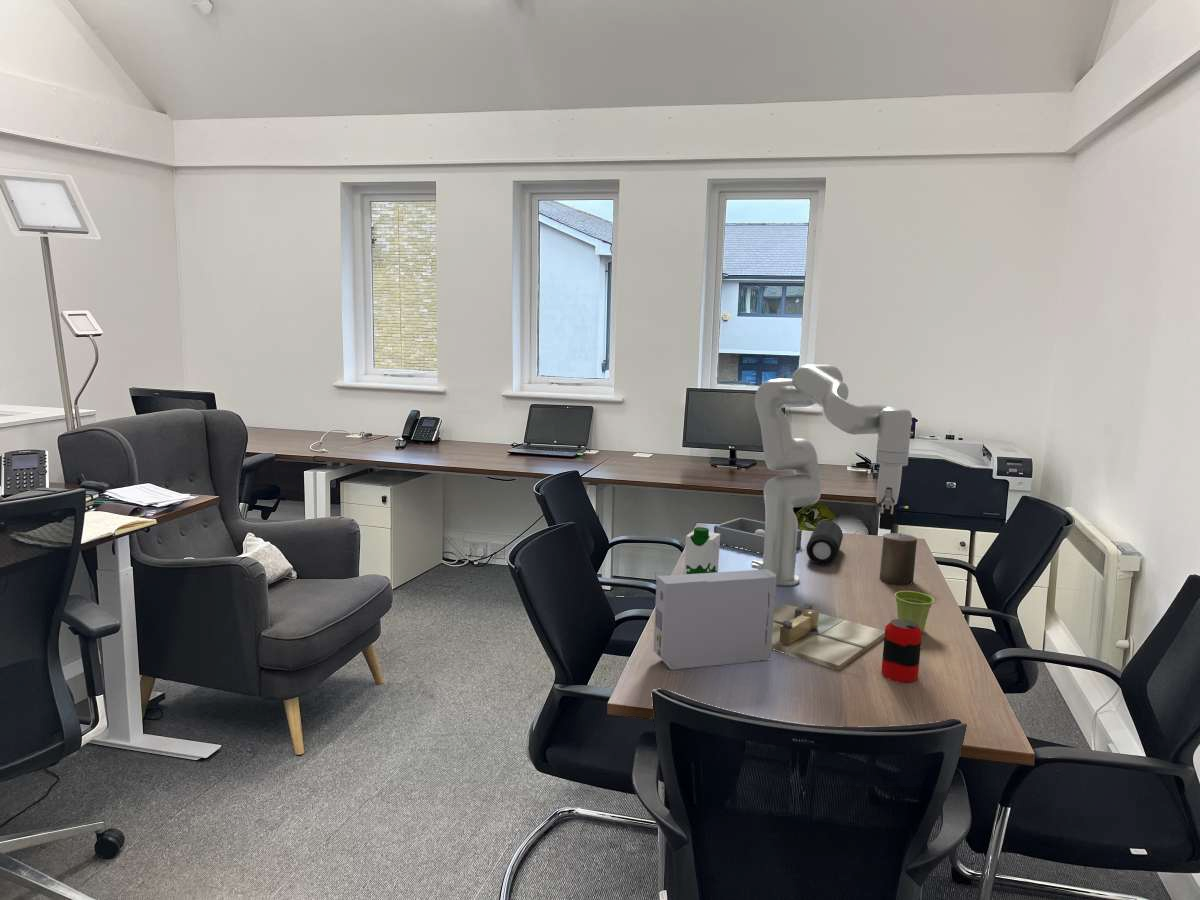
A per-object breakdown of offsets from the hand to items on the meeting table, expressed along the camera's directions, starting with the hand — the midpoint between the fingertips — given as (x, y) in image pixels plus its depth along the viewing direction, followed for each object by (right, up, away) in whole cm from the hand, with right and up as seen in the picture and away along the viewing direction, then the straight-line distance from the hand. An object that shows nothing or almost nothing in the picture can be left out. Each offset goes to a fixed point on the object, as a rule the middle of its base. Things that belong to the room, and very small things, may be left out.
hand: (886, 524), depth 206 cm
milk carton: (-44, -22, +21) cm, 54 cm away
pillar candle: (+18, -21, +42) cm, 50 cm away
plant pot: (+7, -27, +2) cm, 28 cm away
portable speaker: (+2, -17, +65) cm, 67 cm away
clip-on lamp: (-18, -15, +76) cm, 79 cm away
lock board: (-21, -27, -5) cm, 35 cm away
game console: (-47, -29, -21) cm, 59 cm away
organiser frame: (-18, -14, +76) cm, 80 cm away
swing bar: (-24, -26, -10) cm, 37 cm away
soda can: (-6, -31, -26) cm, 41 cm away
